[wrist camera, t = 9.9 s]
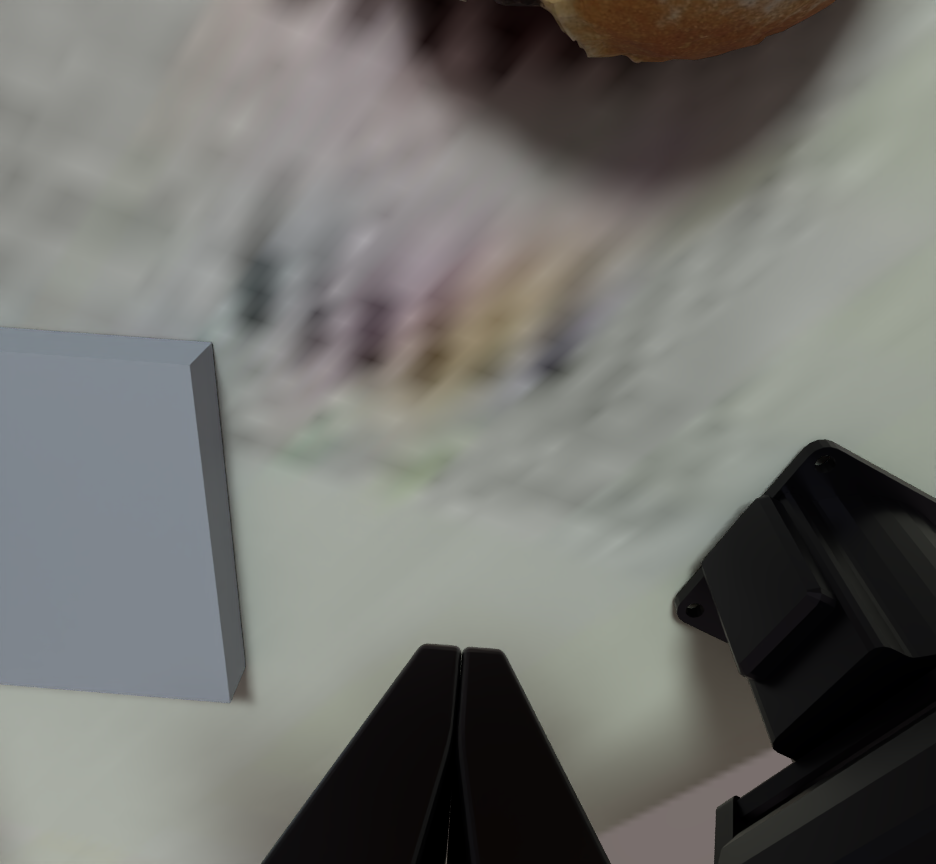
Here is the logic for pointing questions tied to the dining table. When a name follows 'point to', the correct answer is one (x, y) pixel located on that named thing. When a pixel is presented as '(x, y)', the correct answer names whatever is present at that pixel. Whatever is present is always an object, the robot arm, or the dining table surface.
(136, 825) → the dining table surface
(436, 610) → the dining table surface
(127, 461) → the plate
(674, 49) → the bread roll
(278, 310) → the dining table surface
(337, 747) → the dining table surface
